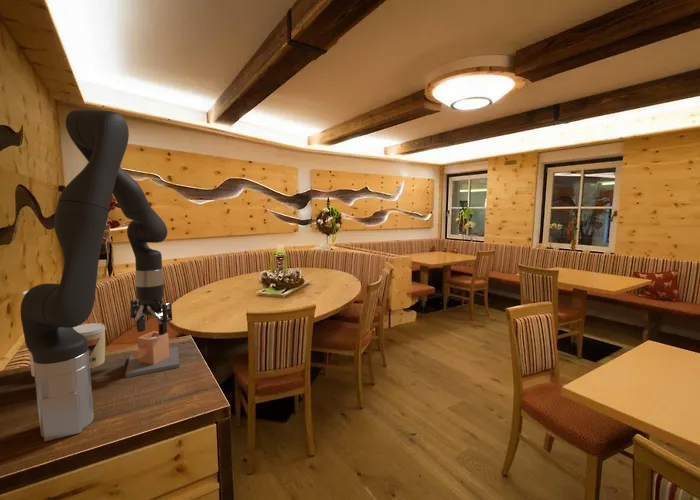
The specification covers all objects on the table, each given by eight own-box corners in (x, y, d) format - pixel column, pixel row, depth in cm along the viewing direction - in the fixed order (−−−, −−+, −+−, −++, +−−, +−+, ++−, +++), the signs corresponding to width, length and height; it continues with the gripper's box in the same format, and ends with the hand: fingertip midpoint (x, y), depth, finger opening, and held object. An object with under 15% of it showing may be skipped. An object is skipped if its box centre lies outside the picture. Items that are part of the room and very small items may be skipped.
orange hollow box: (169, 356, 106) (168, 333, 105) (143, 370, 97) (142, 344, 96) (155, 353, 108) (153, 330, 107) (128, 366, 98) (126, 342, 97)
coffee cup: (64, 373, 96) (60, 335, 95) (77, 359, 105) (74, 324, 103) (102, 368, 100) (99, 331, 98) (111, 355, 108) (109, 321, 107)
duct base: (179, 367, 101) (178, 342, 100) (125, 377, 95) (123, 351, 94) (178, 350, 113) (177, 327, 112) (130, 358, 107) (129, 334, 106)
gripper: (177, 282, 102) (179, 331, 104) (142, 279, 106) (144, 326, 108) (157, 287, 95) (159, 340, 97) (121, 283, 99) (123, 334, 101)
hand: (151, 332), depth 103 cm, fingers open, 8 cm apart
